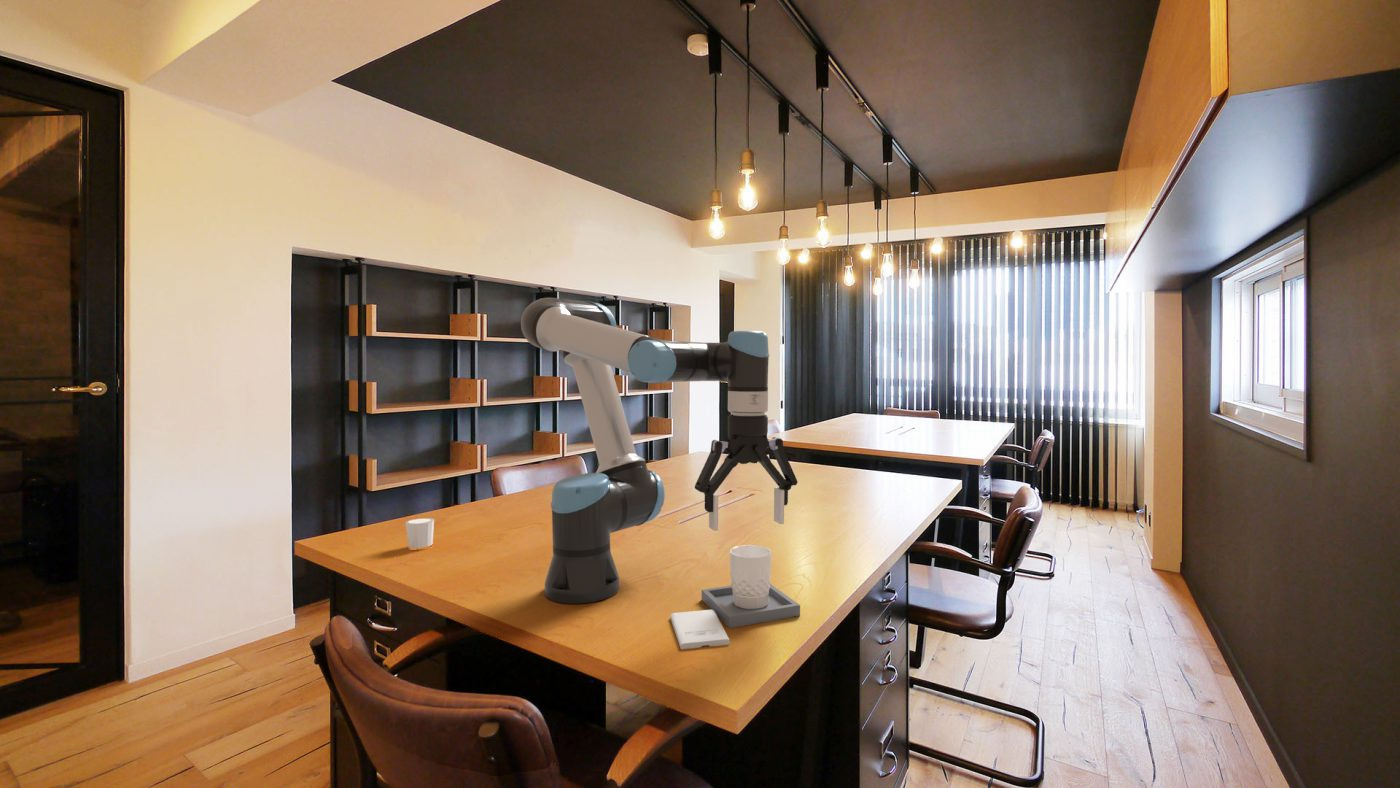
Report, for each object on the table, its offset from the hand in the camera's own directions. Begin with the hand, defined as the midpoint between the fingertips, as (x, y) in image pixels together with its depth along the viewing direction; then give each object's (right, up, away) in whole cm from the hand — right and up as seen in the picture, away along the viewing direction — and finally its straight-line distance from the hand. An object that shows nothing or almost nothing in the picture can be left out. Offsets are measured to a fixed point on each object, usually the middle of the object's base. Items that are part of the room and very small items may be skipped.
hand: (746, 525), depth 114 cm
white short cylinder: (-81, -15, +42) cm, 93 cm away
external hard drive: (-9, -17, -9) cm, 21 cm away
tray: (0, -16, 0) cm, 16 cm away
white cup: (+1, -15, +1) cm, 15 cm away
